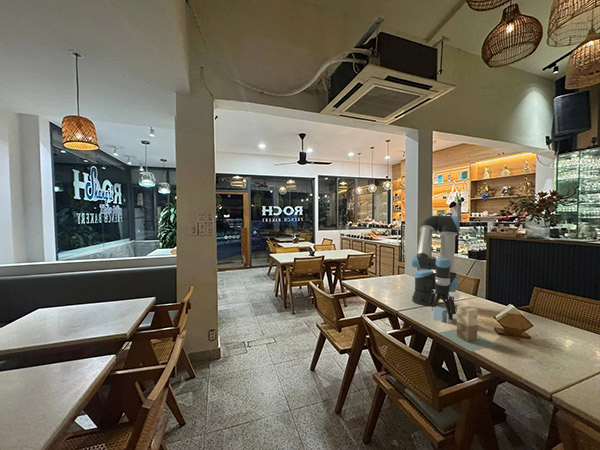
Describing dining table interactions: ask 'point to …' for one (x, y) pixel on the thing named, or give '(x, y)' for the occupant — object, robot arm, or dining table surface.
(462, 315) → the beech block
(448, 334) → the build plate
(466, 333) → the walnut block
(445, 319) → the blue block
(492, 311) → the dining table surface
